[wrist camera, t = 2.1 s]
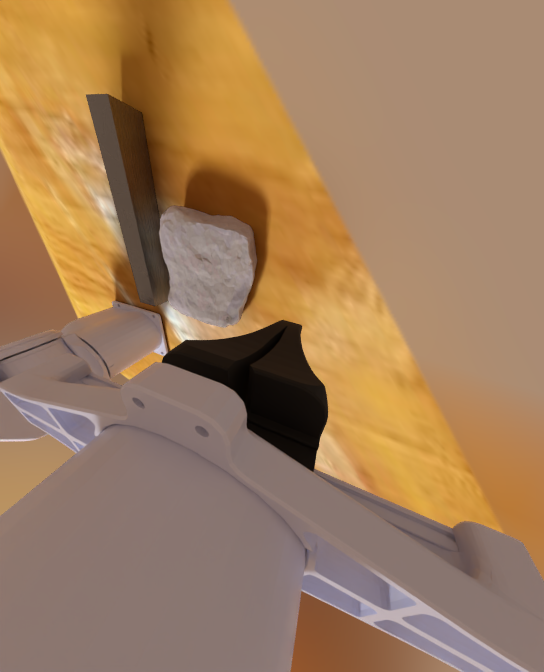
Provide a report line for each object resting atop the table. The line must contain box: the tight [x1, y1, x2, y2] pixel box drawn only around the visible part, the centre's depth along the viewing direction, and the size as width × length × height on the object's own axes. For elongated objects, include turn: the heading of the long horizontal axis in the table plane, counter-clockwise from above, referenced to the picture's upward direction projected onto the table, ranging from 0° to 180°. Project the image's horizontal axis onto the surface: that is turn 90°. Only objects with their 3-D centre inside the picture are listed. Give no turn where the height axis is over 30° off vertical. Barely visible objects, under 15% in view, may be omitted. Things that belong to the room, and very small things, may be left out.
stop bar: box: [86, 94, 170, 306], centre depth 21 cm, size 2×18×3 cm, turn 175°
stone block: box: [159, 205, 257, 327], centre depth 22 cm, size 12×5×10 cm
